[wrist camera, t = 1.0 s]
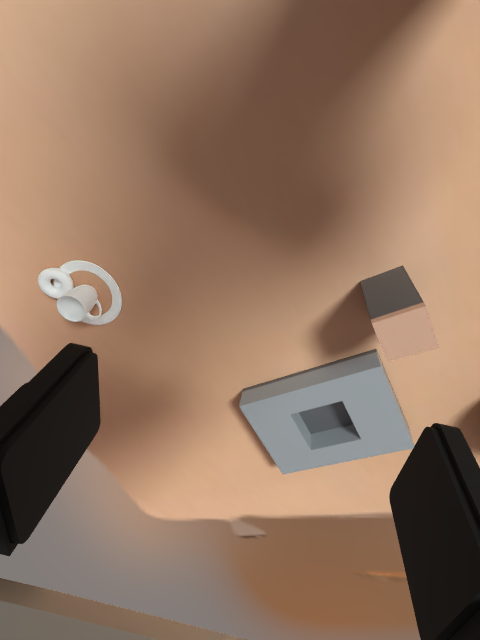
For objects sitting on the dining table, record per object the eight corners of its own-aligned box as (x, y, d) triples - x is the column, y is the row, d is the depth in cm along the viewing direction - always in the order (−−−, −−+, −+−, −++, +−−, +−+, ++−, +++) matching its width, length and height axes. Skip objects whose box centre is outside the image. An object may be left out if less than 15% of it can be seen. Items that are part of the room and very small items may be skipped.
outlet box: (376, 349, 39) (380, 366, 37) (408, 427, 44) (414, 447, 41) (242, 389, 45) (238, 406, 42) (284, 455, 50) (282, 474, 47)
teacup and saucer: (37, 277, 42) (12, 293, 39) (80, 238, 39) (57, 251, 35) (93, 333, 45) (75, 353, 41) (137, 301, 42) (122, 319, 38)
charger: (402, 265, 34) (425, 305, 28) (414, 301, 36) (439, 347, 29) (360, 281, 36) (371, 323, 29) (373, 314, 37) (387, 362, 31)
